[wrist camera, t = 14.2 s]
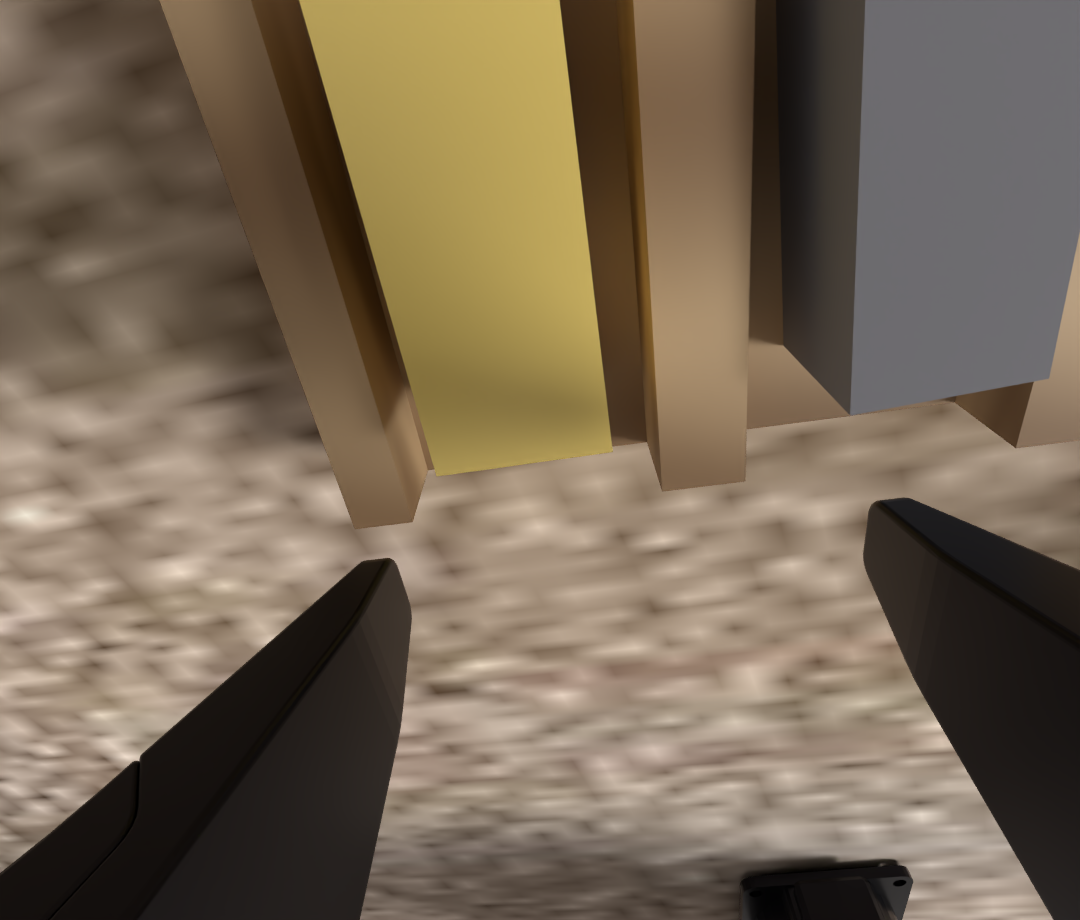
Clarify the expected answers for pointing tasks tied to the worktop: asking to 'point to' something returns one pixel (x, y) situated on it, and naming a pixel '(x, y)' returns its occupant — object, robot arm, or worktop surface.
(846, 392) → the tall grey block
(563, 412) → the yellow rectangular block
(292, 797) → the robot arm
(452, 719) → the worktop surface
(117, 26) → the worktop surface
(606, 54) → the slot board
